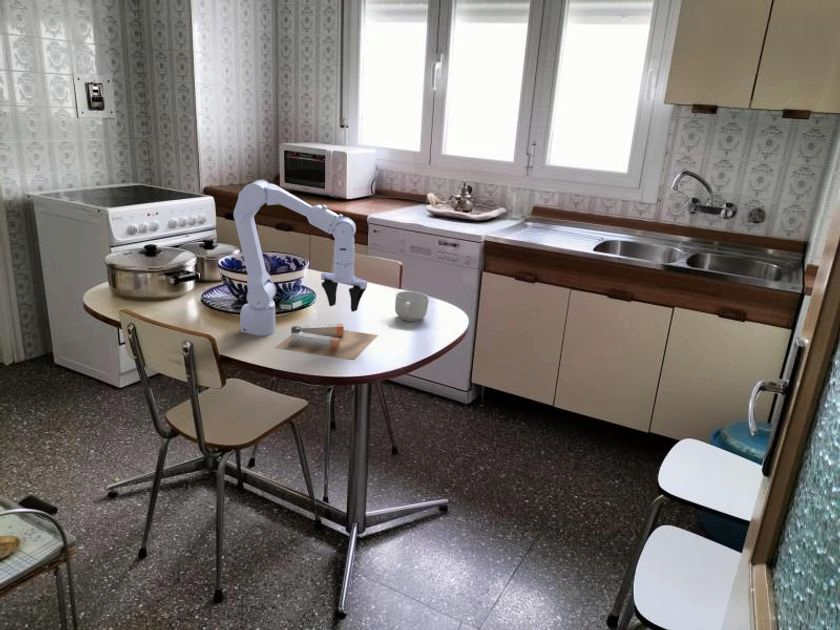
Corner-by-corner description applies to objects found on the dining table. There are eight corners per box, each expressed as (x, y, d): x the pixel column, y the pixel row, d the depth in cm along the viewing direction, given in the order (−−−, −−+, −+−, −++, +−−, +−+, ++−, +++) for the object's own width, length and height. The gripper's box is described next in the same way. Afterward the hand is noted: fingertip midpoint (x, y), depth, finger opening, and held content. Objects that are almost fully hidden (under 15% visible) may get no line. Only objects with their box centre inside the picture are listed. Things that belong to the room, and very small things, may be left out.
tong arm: (301, 338, 175) (301, 328, 174) (301, 335, 177) (300, 325, 176) (343, 336, 178) (343, 326, 177) (342, 333, 180) (342, 323, 179)
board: (274, 351, 168) (274, 347, 168) (306, 328, 187) (306, 324, 186) (354, 364, 163) (354, 360, 163) (377, 338, 182) (378, 335, 181)
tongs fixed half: (286, 343, 171) (286, 330, 170) (294, 338, 175) (293, 325, 174) (336, 351, 168) (336, 338, 167) (342, 345, 172) (342, 332, 171)
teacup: (402, 311, 207) (403, 288, 204) (432, 316, 203) (434, 293, 201) (385, 323, 195) (386, 299, 192) (416, 329, 191) (418, 305, 188)
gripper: (314, 260, 172) (314, 306, 177) (357, 269, 166) (356, 316, 170) (329, 255, 178) (329, 300, 183) (371, 264, 172) (370, 310, 176)
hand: (343, 307), depth 177 cm, fingers open, 7 cm apart
